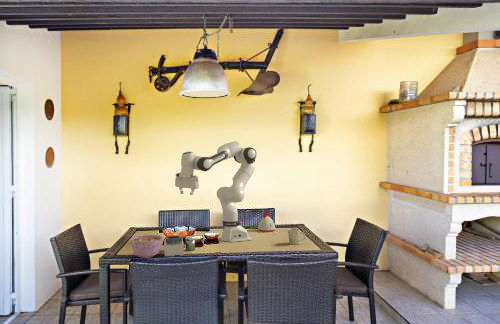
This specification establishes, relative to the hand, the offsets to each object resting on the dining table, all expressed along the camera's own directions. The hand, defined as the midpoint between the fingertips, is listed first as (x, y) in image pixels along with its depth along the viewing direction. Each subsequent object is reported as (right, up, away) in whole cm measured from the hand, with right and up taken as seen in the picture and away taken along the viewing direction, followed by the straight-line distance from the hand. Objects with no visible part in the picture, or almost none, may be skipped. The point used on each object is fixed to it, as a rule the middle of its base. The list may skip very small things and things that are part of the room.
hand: (186, 194), depth 297 cm
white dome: (+58, -34, +49) cm, 83 cm away
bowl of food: (-21, -37, -31) cm, 52 cm away
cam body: (-5, -36, -20) cm, 42 cm away
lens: (+5, -36, -14) cm, 39 cm away
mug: (+78, -35, +2) cm, 85 cm away
